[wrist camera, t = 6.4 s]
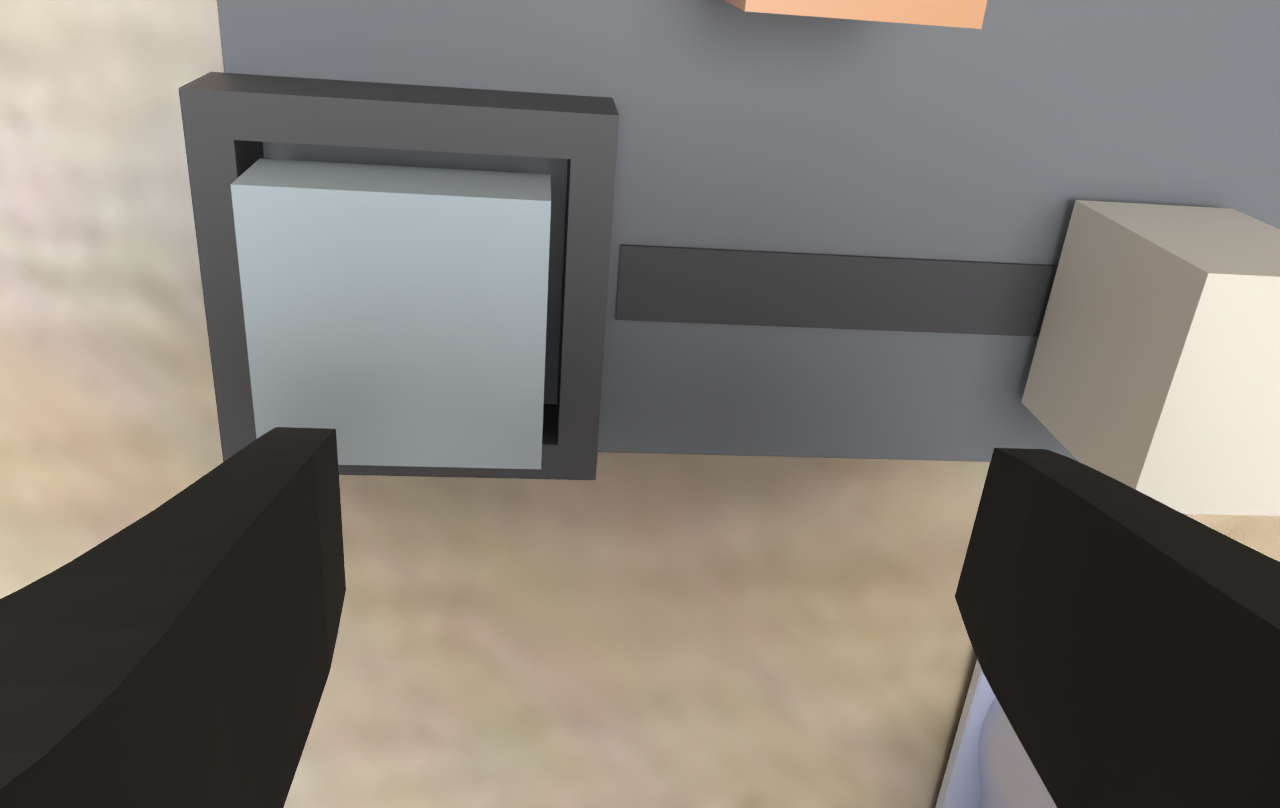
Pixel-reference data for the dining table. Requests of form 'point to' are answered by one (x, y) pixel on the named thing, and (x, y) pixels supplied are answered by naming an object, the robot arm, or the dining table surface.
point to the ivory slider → (1167, 354)
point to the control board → (755, 194)
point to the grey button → (397, 308)
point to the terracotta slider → (878, 10)
